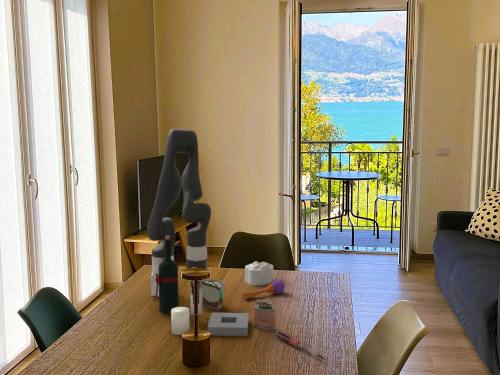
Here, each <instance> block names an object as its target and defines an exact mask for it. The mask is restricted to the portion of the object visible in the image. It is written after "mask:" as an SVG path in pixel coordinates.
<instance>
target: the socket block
mask: <svg viewBox="0 0 500 375" xmlns="http://www.w3.org/2000/svg"><path fill="white" fill-rule="evenodd" d="M249 318H250V314H249V312H211V313H210V317H209V320H208V323H207V324H208V325H207V327H206V328H207V329H206V331H208V332H210V333H211V335H210V336H220V337H221V336H225V337H226V336H232V337H234V336H235V337H236V336H237V337H247V336H248V332H249V322H250V319H249Z"/></svg>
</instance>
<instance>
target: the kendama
mask: <svg viewBox="0 0 500 375" xmlns="http://www.w3.org/2000/svg"><path fill="white" fill-rule="evenodd" d="M285 288H286V287H285V283H284V282H283V281H282V280H280V279H277V280H276V279H275V280H273V282H272V283H270V284H267V286H266V287H265V288H263V289H258V290H252V291H245V292H242V294H241V295H242V299H243V300H244V301H248V300H249V299H252V298H254V297H256V296H260V295H261V294H263V293H268V294H272V295H273V294H276V295H279V294H282V293H283V292H284V291H285Z"/></svg>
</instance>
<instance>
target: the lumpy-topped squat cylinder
mask: <svg viewBox="0 0 500 375" xmlns="http://www.w3.org/2000/svg"><path fill="white" fill-rule="evenodd" d="M244 282H245V283H247V284H248V285H249V286H253V285H254V286H265V285H270V284H272V283H273V282H274V265H273V264H271V263H268V262H266V261H261V262H259V261H256V260H255V261H254V262H253V263H249V264H247V265H245V267H244Z"/></svg>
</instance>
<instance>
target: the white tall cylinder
mask: <svg viewBox="0 0 500 375" xmlns="http://www.w3.org/2000/svg"><path fill="white" fill-rule="evenodd" d="M198 286H199V285H198ZM203 311H204V305H203V285H201V287H200V288H199V304H198V314H197V315H202V314H203ZM190 315H195V314H194V304H193V294H192V293H191V292H190Z"/></svg>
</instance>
